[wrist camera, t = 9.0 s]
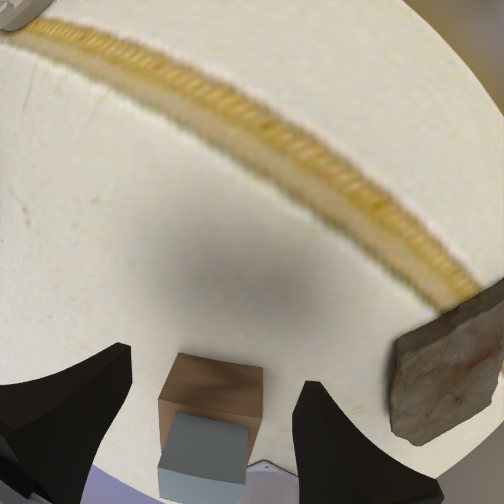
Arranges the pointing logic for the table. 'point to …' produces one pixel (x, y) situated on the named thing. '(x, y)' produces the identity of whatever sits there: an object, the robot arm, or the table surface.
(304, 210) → the table surface
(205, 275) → the table surface
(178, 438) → the slate cube
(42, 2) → the flag stand
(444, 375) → the flat brown rock
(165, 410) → the wood grain block
